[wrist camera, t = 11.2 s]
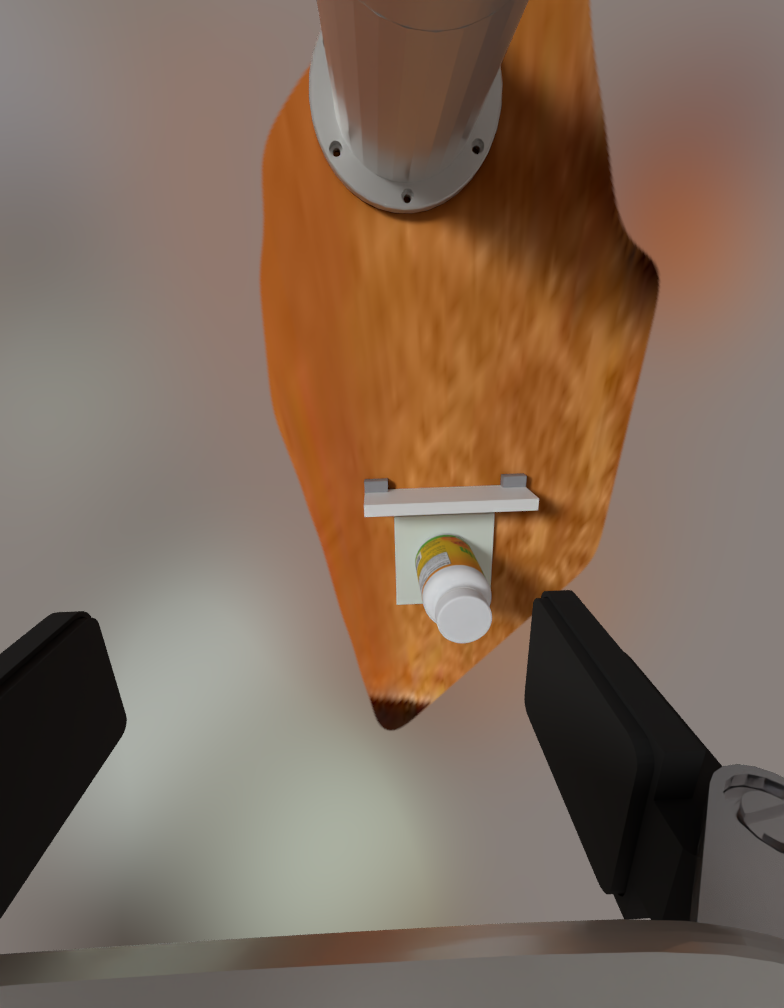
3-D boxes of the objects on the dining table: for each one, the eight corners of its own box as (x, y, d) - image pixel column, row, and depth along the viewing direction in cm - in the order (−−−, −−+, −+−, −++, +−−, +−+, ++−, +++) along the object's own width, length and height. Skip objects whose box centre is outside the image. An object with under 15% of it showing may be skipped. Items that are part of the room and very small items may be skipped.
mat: (394, 515, 39) (394, 517, 38) (493, 511, 39) (494, 513, 38) (396, 602, 42) (396, 604, 41) (488, 598, 42) (489, 600, 41)
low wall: (364, 479, 37) (363, 493, 34) (523, 473, 38) (540, 486, 34) (366, 511, 38) (365, 528, 35) (521, 505, 39) (536, 521, 35)
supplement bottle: (483, 562, 40) (516, 625, 31) (436, 593, 41) (455, 664, 32) (450, 520, 38) (476, 573, 29) (402, 553, 39) (412, 615, 30)
